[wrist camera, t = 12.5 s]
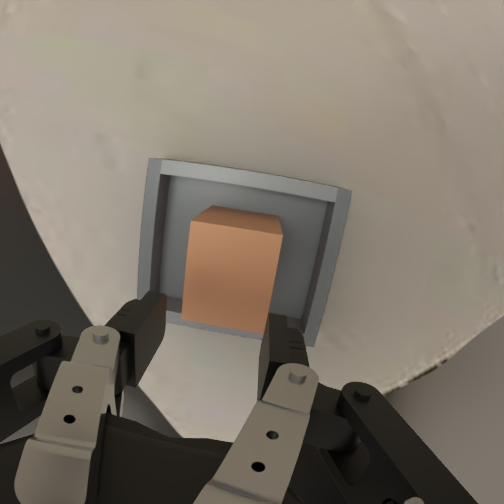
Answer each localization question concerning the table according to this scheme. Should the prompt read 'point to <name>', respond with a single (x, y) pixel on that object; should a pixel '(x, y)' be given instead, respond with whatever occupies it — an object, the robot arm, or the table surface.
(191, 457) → the robot arm
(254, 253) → the terracotta cube
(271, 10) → the table surface
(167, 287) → the chassis bay
